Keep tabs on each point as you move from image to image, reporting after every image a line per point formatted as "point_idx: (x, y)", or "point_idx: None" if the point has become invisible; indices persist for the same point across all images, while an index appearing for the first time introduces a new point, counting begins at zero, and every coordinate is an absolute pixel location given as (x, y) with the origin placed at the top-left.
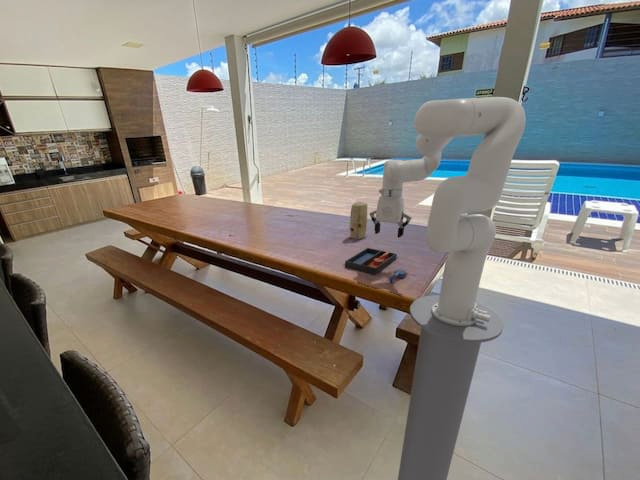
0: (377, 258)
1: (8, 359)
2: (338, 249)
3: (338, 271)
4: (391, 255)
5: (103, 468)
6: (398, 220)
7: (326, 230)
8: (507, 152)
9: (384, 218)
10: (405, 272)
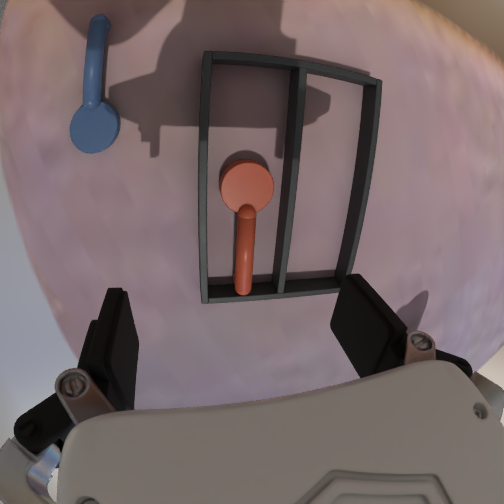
0: (261, 202)
1: None
2: (432, 236)
3: (360, 10)
4: (223, 290)
5: None
6: (64, 455)
7: (459, 339)
8: None
9: (367, 431)
10: (72, 136)
